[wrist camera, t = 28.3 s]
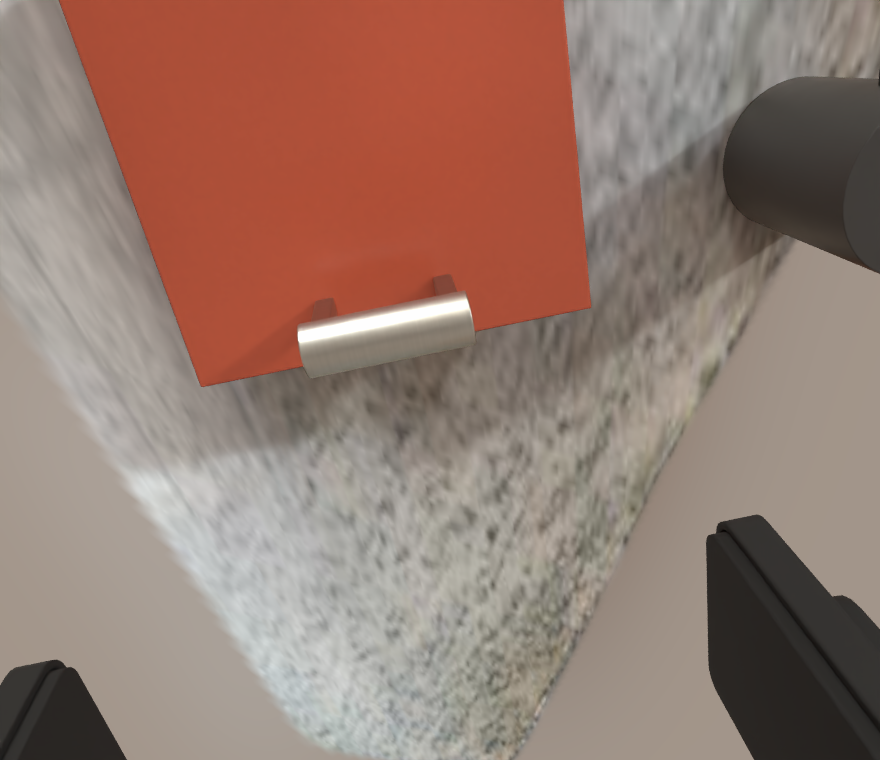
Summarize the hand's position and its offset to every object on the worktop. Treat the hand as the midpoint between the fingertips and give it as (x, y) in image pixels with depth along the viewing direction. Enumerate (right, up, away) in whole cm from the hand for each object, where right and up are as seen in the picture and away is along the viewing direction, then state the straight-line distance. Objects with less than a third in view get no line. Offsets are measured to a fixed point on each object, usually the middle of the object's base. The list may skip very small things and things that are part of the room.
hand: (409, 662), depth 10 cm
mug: (+17, +16, +21) cm, 31 cm away
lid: (-3, +13, +14) cm, 19 cm away
